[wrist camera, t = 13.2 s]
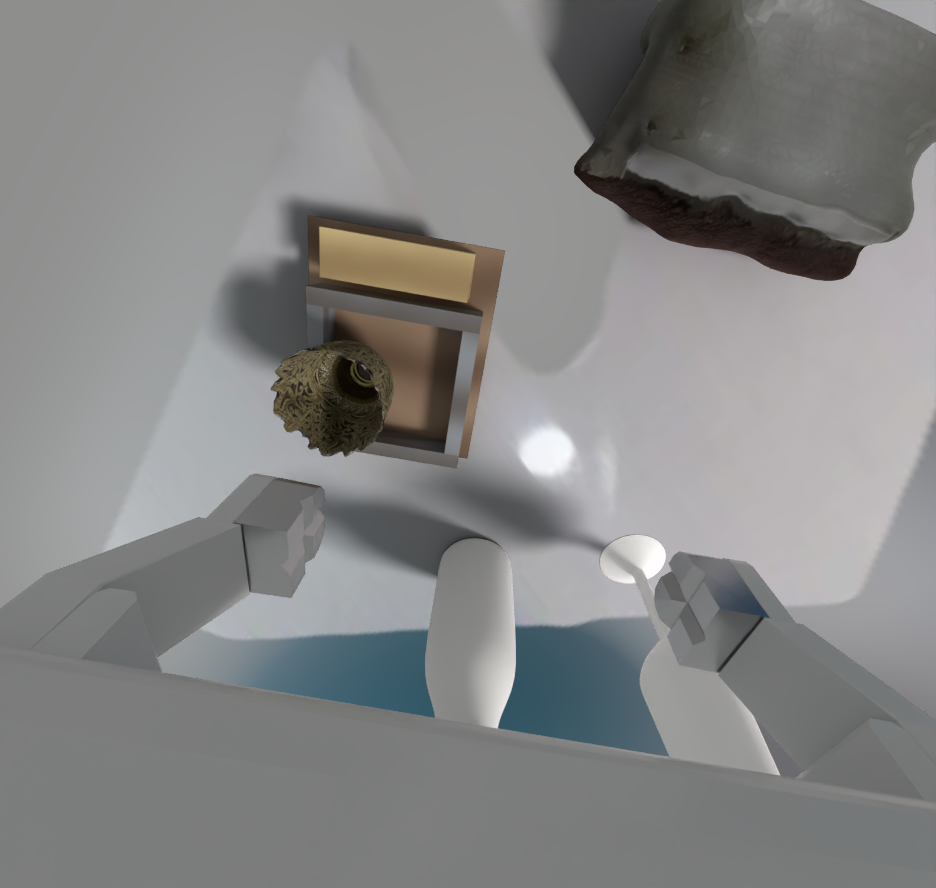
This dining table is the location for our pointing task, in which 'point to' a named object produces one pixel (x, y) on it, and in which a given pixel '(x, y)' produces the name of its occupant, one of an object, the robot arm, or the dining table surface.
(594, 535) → the dining table surface
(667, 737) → the champagne flute
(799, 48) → the rock
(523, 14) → the dining table surface
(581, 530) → the dining table surface
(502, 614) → the milk bottle
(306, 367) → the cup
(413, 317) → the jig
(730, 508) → the dining table surface
